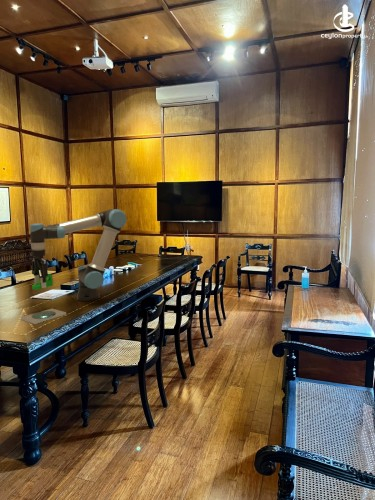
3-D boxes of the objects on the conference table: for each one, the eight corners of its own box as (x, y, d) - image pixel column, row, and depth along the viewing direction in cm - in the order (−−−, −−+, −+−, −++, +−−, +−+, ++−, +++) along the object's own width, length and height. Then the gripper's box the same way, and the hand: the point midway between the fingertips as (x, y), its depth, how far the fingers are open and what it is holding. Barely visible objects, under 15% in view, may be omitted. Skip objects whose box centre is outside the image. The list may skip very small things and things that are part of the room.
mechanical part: (45, 284, 220) (45, 272, 219) (52, 285, 217) (52, 272, 216) (29, 288, 209) (29, 275, 208) (37, 289, 207) (36, 276, 206)
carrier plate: (52, 310, 216) (52, 308, 216) (66, 314, 208) (65, 312, 207) (21, 319, 200) (20, 317, 200) (34, 324, 192) (34, 321, 191)
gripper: (24, 248, 213) (26, 285, 216) (41, 251, 200) (43, 290, 204) (35, 247, 218) (38, 283, 222) (53, 250, 206) (55, 287, 209)
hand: (40, 286), depth 213 cm, fingers closed on mechanical part, 7 cm apart
